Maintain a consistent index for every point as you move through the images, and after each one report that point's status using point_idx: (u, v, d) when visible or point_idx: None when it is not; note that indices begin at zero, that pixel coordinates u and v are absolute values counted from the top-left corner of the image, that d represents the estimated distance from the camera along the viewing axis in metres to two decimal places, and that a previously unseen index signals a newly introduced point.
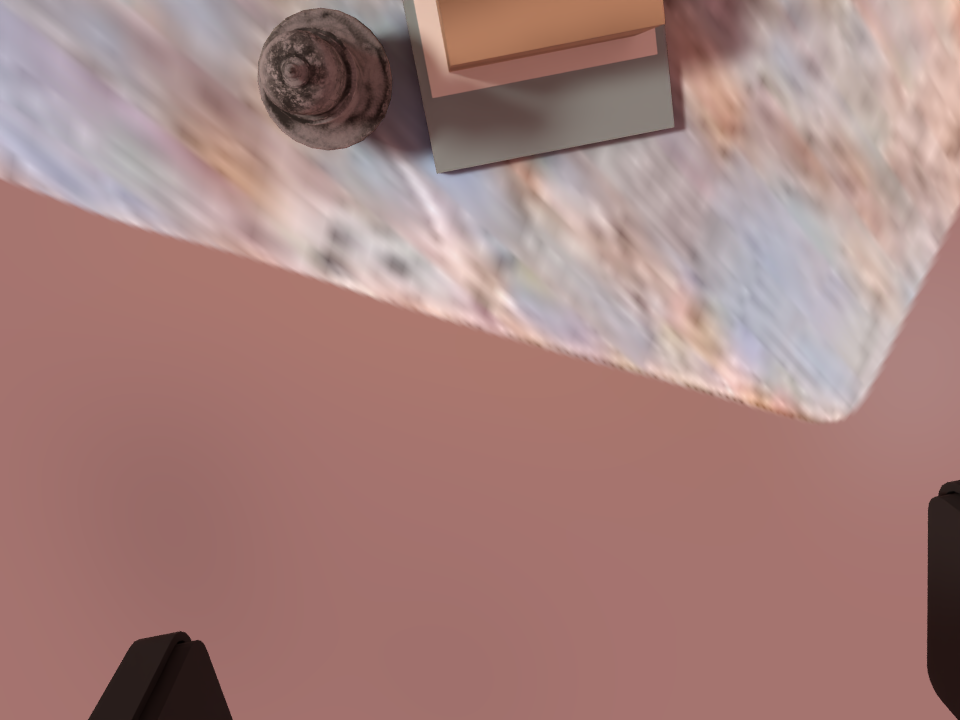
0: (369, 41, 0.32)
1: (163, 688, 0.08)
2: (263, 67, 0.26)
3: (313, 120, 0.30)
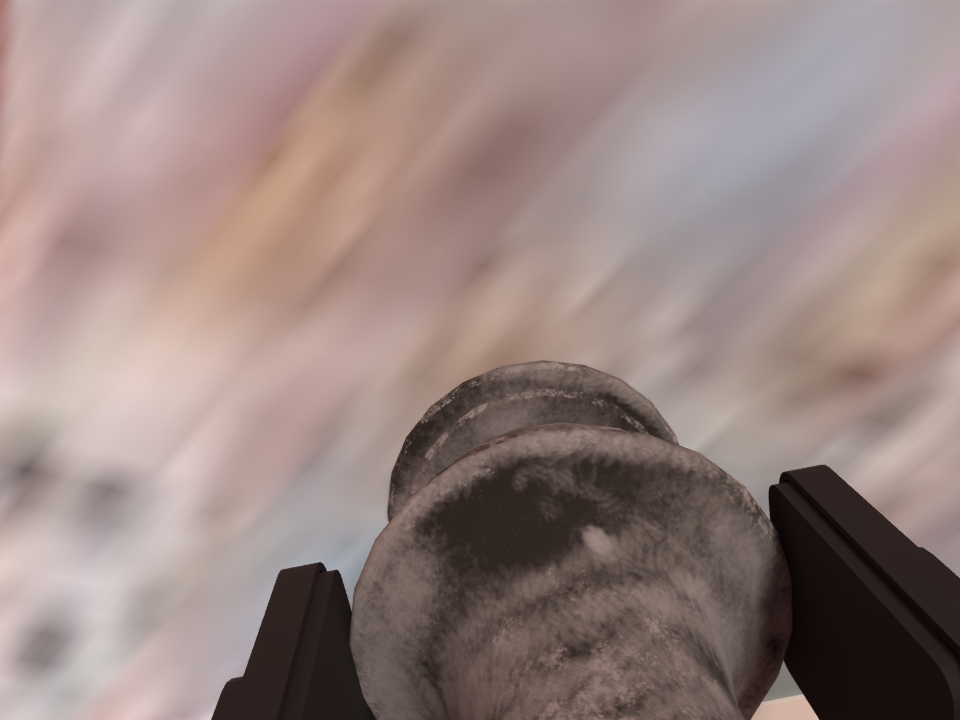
0: None
1: (318, 607, 0.09)
2: None
3: None
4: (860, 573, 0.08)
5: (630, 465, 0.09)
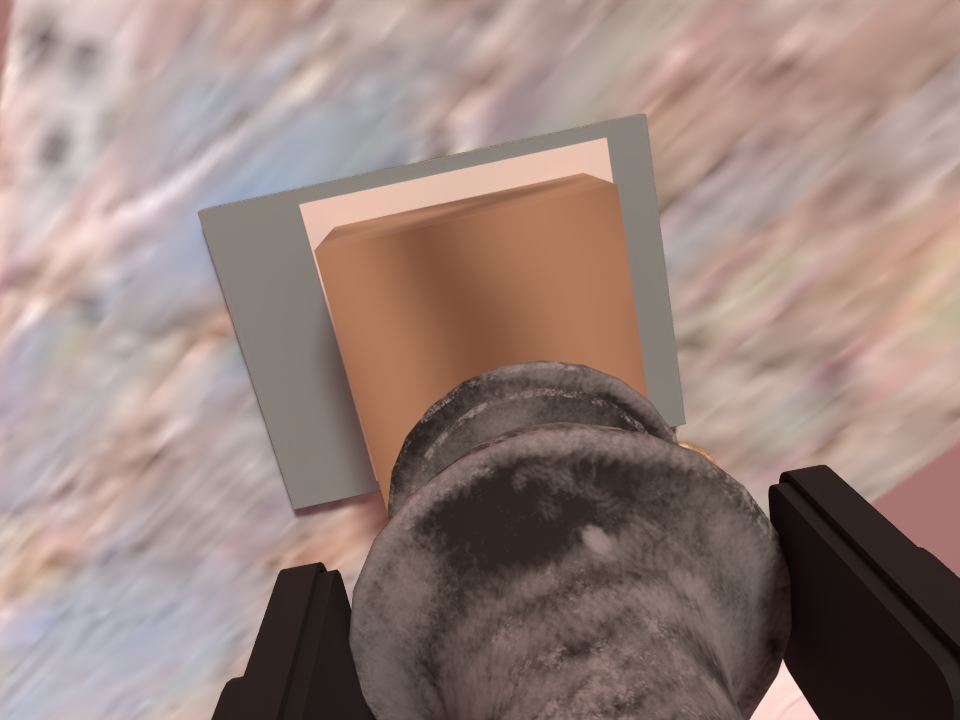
0: None
1: (318, 607, 0.09)
2: None
3: None
4: (860, 573, 0.08)
5: (629, 464, 0.09)
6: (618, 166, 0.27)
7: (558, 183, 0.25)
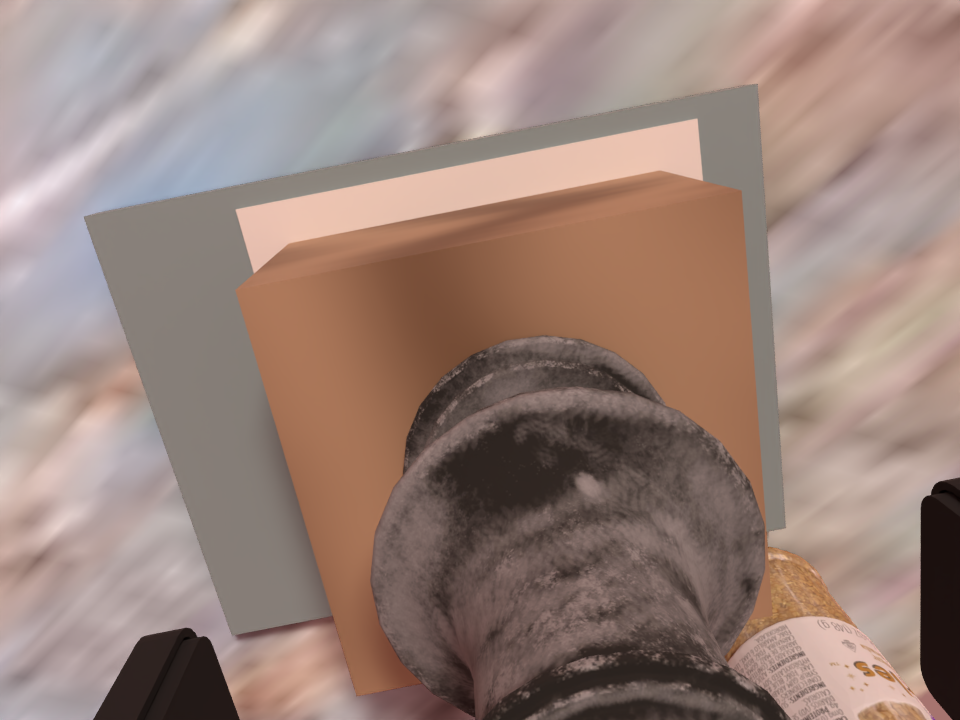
0: None
1: (170, 684, 0.08)
2: None
3: None
4: None
5: (617, 421, 0.10)
6: (711, 162, 0.18)
7: (628, 185, 0.16)
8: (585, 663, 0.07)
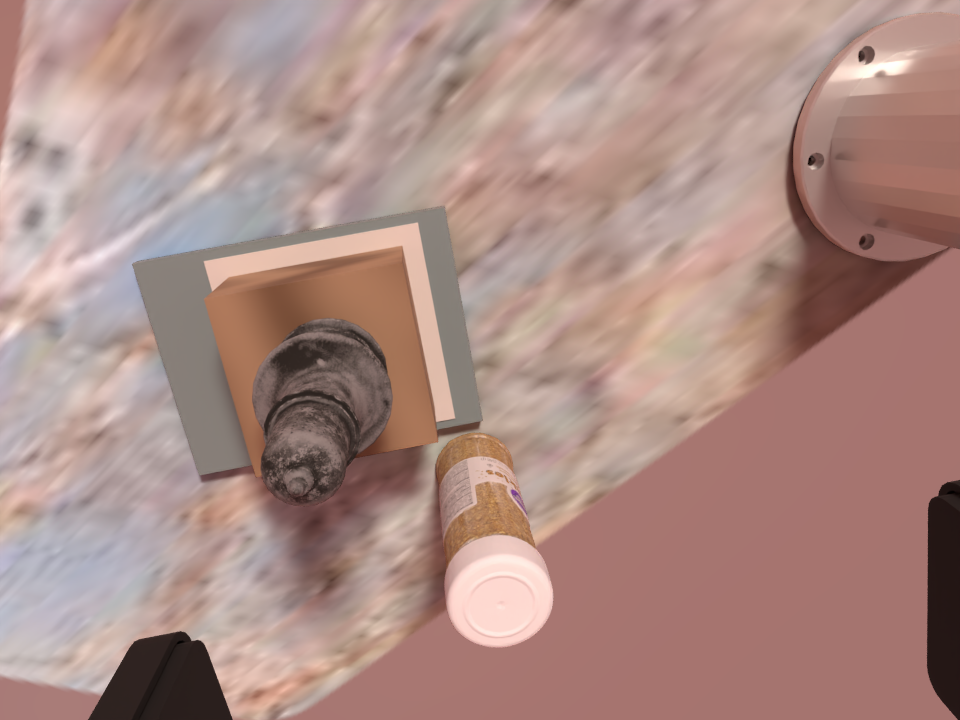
0: (362, 443, 0.32)
1: (163, 688, 0.08)
2: (304, 441, 0.25)
3: (267, 437, 0.28)
4: None
5: (333, 342, 0.31)
6: (426, 241, 0.39)
7: (379, 254, 0.37)
8: (295, 392, 0.28)
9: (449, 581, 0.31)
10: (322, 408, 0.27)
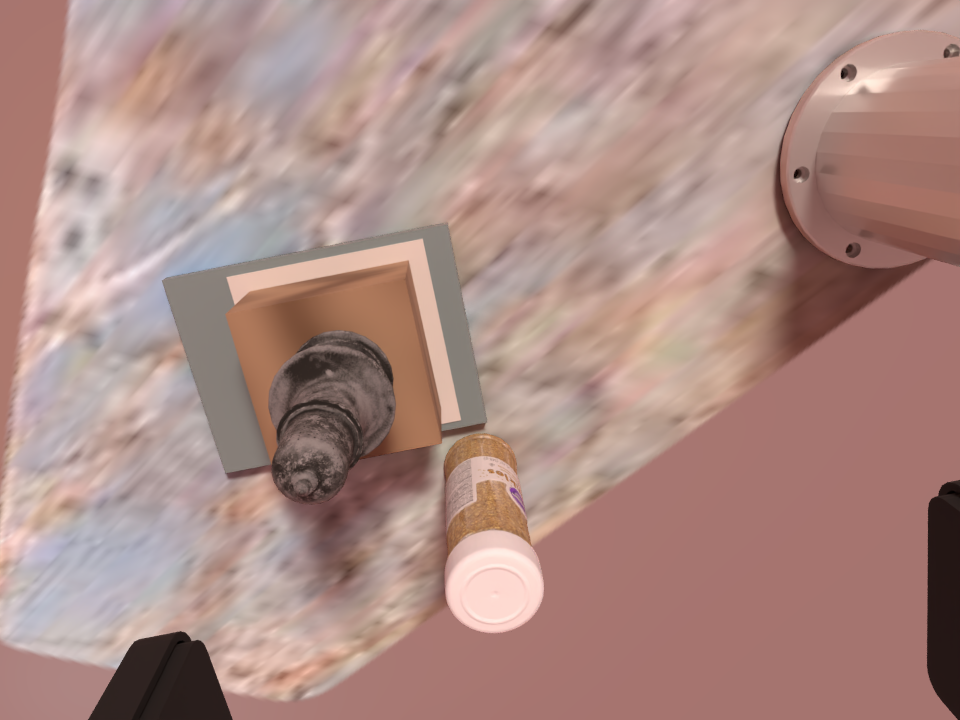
0: (369, 445, 0.35)
1: (164, 688, 0.08)
2: (309, 447, 0.28)
3: (280, 442, 0.31)
4: None
5: (340, 354, 0.34)
6: (431, 256, 0.41)
7: (386, 269, 0.40)
8: (304, 401, 0.31)
9: (448, 572, 0.34)
10: (328, 416, 0.30)
